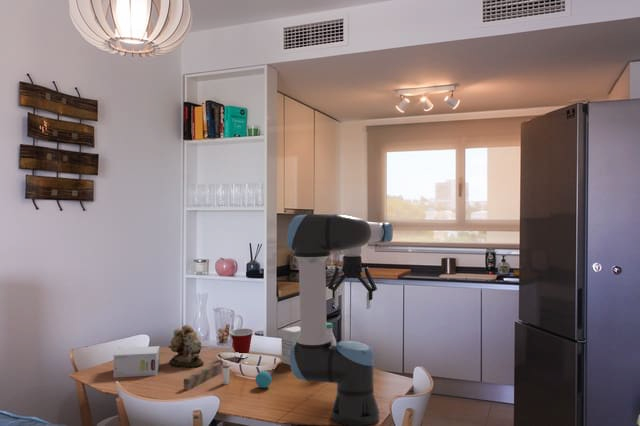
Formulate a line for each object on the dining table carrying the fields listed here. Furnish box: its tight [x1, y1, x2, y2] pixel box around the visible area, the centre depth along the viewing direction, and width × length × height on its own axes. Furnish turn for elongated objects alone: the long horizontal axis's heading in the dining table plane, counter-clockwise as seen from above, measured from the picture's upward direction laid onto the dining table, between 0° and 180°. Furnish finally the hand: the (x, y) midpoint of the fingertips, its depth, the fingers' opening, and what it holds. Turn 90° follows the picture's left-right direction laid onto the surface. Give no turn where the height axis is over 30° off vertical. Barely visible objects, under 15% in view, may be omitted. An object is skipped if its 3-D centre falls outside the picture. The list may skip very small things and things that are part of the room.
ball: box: [255, 370, 273, 389], centre depth 204 cm, size 6×6×6 cm
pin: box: [222, 360, 230, 385], centre depth 209 cm, size 2×2×8 cm
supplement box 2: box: [280, 325, 301, 366], centre depth 238 cm, size 9×9×15 cm
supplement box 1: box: [113, 345, 160, 378], centre depth 226 cm, size 17×13×9 cm
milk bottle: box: [327, 322, 337, 346], centre depth 224 cm, size 8×8×20 cm
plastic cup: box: [229, 328, 254, 354], centre depth 249 cm, size 11×11×12 cm
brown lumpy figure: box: [168, 324, 205, 369], centre depth 238 cm, size 18×12×17 cm, turn 60°
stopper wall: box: [183, 362, 222, 391], centre depth 213 cm, size 24×2×4 cm, turn 160°
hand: (352, 307), depth 222 cm, fingers open, 13 cm apart
